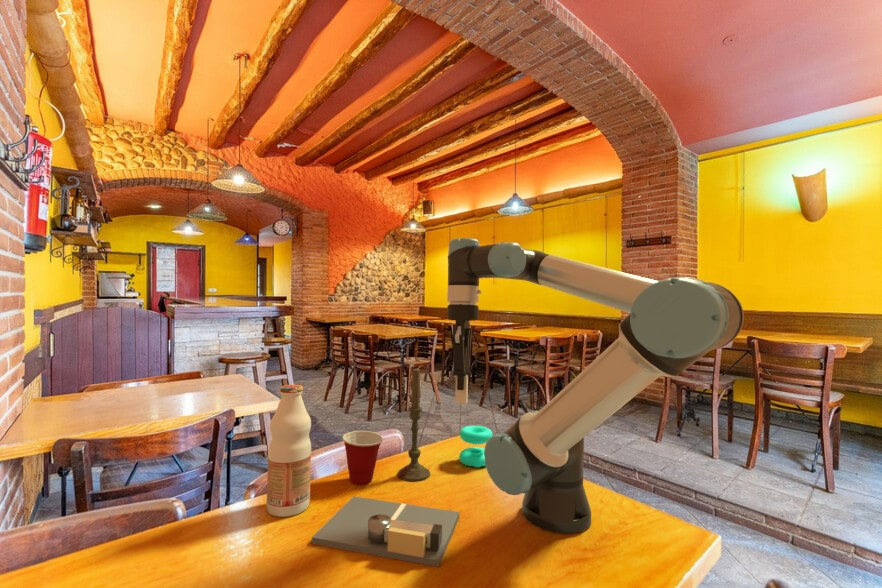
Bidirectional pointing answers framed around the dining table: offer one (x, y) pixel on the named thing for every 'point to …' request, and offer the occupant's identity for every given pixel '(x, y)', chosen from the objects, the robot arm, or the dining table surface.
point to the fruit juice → (289, 455)
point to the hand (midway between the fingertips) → (461, 402)
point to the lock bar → (382, 523)
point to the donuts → (474, 436)
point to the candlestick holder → (414, 436)
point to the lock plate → (402, 544)
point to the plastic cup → (361, 455)
